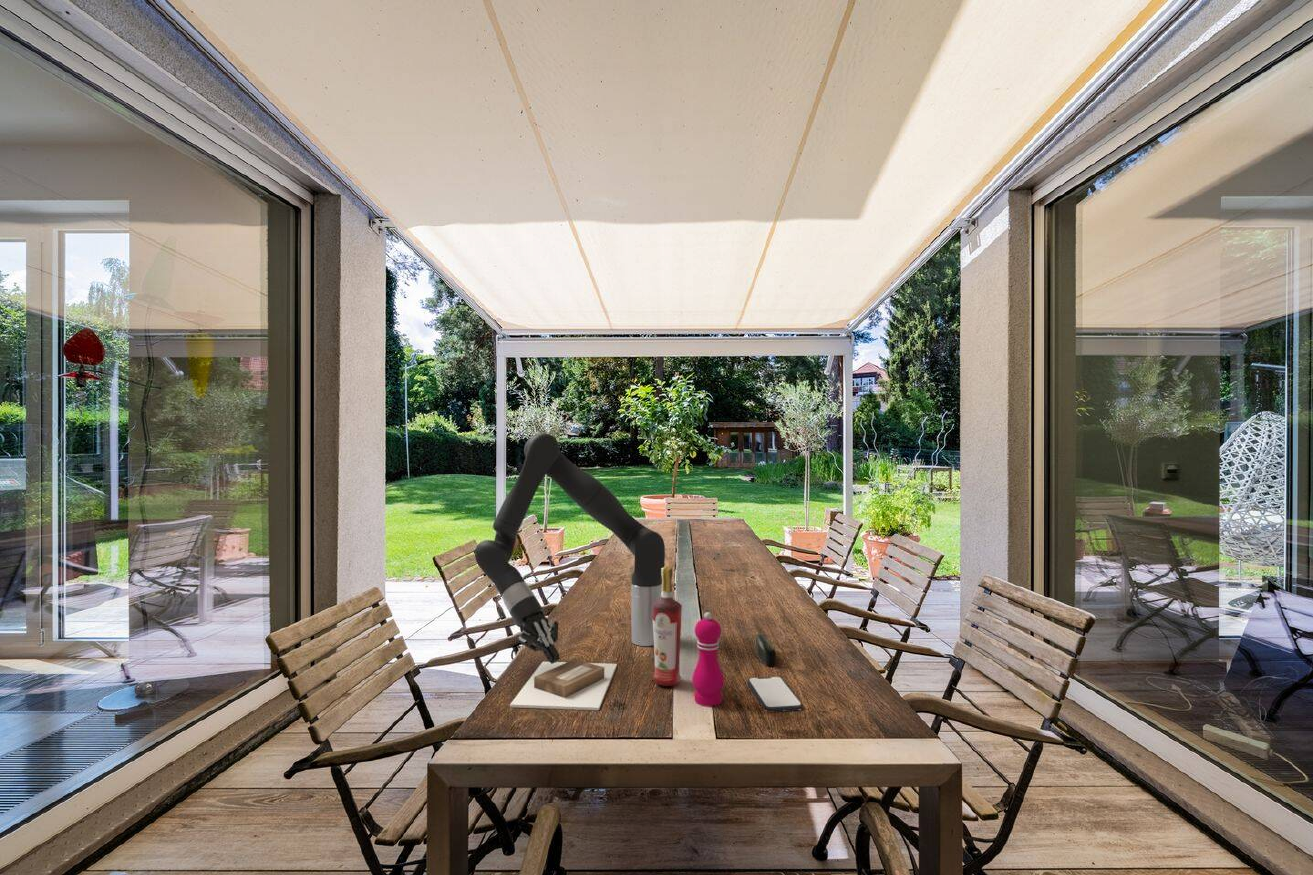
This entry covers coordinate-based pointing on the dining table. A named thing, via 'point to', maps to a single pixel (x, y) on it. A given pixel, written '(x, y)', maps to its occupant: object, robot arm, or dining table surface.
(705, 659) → the pepper mill
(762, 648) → the mobile phone
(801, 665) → the dining table surface
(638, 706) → the dining table surface
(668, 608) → the liquor
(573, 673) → the slab
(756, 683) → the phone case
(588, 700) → the mat
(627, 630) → the dining table surface
